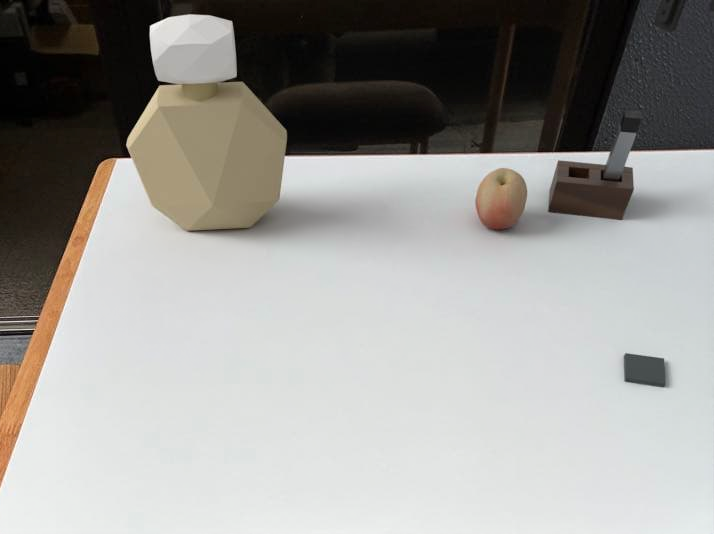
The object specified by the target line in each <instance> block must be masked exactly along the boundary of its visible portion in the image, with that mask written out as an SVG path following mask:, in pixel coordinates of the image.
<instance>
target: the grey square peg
mask: <svg viewBox="0 0 714 534" xmlns="http://www.w3.org/2000/svg"><path fill="white" fill-rule="evenodd" d="M642 120H643V114H642V111H641V110H629V109H624V111H623V113H622V117H621V120H620V123H619V125H618V128H617V132H616V134H615V138H614V140H613V143H612V145H611V148H610V151H609V154H608V158H607V160H606V164H605V165H606V166H605V169H604V171H603V174H602V177H601V180H604V181H614V182H619V180H620V177H621V174H622V171H623V169H624V167H626V163H627V160H628V158H629V155H630V153H631V150H632V147H633V144H634V142H635V139H636V136H637V134H638V131H639V128H640V125H641V123H642Z"/></svg>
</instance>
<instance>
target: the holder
mask: <svg viewBox="0 0 714 534" xmlns="http://www.w3.org/2000/svg"><path fill="white" fill-rule="evenodd" d="M605 166H606V164H601V163H591V162H590V163H589V162H579V161H571V160H570V161H569V160H561V159H560V160H559V159H558V160H557V163H556V166H555V170H554V173H553V177H552V180H551V183H550V188H549V191H548V192H549V193H548V195H549V196H548V205H547V212H548V213H555V214H565V215H573V216H574V215H575V216H584V217H593V218H601V219H602V218H603V219H611V220H620V221H621V220H623V218H624V216H625V213H626V210H627V208H628V205H629V203H630V200H631V198H632V197H633V193H634V190H635V186H634V168H633V167H632V166H624V169H623V171H622V174H621V177H620V180H619V182H614V181H604V180H601V177H602V174H603V171H604V169H605Z"/></svg>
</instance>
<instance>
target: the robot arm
mask: <svg viewBox="0 0 714 534" xmlns="http://www.w3.org/2000/svg"><path fill="white" fill-rule="evenodd" d="M686 3H687V0H660V2H659V5H658V9H657V11H656V14H655V17H654V19H653V26H655V27H657V28H660V29H661V30H663V31H665V32H668V33H672V32H675V30H676V29H677V27H678V24H679V21H680V20H681V19H680V18H681V16H682V13H683V11H684V8H685V5H686ZM708 8H709V10H710V11H711V12H714V0H711V1H710V3H709V6H708Z"/></svg>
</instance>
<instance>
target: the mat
mask: <svg viewBox="0 0 714 534" xmlns="http://www.w3.org/2000/svg"><path fill="white" fill-rule="evenodd" d="M623 379H624V382H626V383H632V384H641V385H647V386H655V387H660V388H665V387H666V385H667V377H666V365H665V358H664V357H657V356H650V355H643V354H637V353H636V354H635V353H628V352H625V353H624V355H623Z"/></svg>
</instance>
